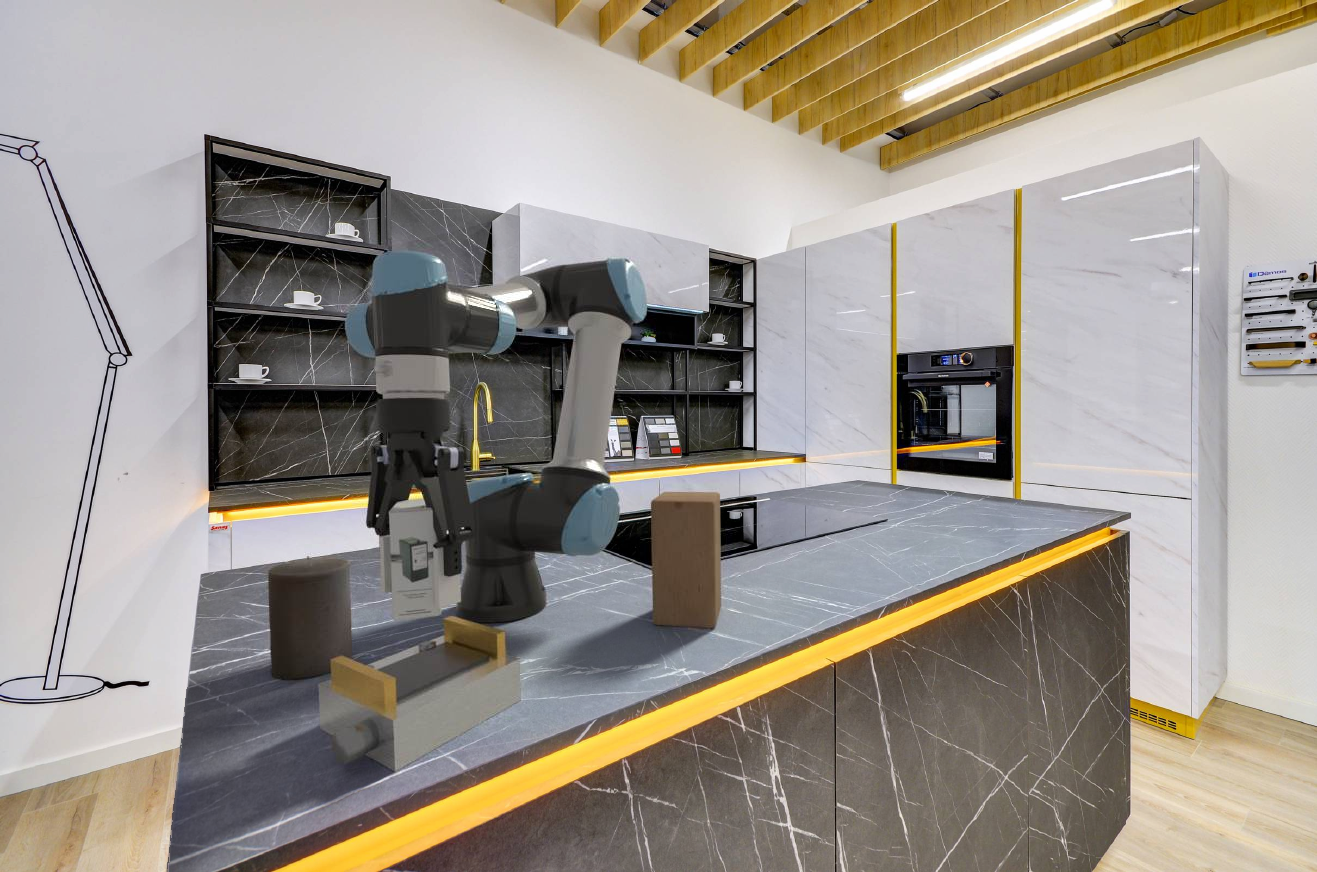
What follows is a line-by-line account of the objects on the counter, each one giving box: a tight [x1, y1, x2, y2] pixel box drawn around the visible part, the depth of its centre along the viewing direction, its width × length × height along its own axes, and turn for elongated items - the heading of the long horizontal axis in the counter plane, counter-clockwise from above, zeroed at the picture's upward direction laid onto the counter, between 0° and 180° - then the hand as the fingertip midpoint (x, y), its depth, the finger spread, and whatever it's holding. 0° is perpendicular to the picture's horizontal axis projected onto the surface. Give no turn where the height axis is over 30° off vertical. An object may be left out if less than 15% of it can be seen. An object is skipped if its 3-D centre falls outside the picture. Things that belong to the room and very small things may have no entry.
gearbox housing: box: [318, 615, 522, 772], centre depth 64 cm, size 14×19×8 cm
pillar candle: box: [267, 555, 353, 681], centre depth 79 cm, size 10×10×15 cm
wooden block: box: [650, 491, 722, 629], centre depth 94 cm, size 10×10×20 cm
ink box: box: [389, 497, 443, 622], centre depth 64 cm, size 9×5×12 cm, turn 19°
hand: (420, 596), depth 65 cm, fingers closed on ink box, 9 cm apart
